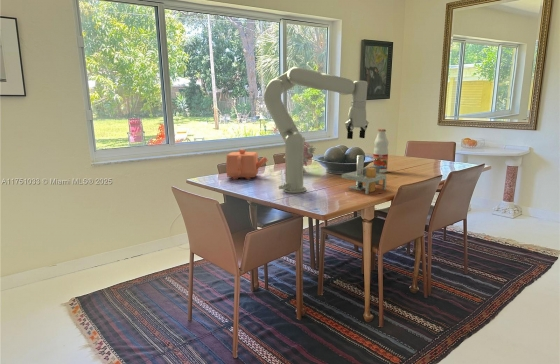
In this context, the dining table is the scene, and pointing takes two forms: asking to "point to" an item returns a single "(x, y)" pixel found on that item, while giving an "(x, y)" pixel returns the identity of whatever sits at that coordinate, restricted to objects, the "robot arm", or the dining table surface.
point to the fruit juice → (381, 151)
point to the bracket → (376, 171)
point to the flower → (306, 153)
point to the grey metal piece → (363, 177)
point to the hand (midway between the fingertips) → (355, 138)
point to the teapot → (243, 164)
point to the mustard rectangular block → (371, 173)
